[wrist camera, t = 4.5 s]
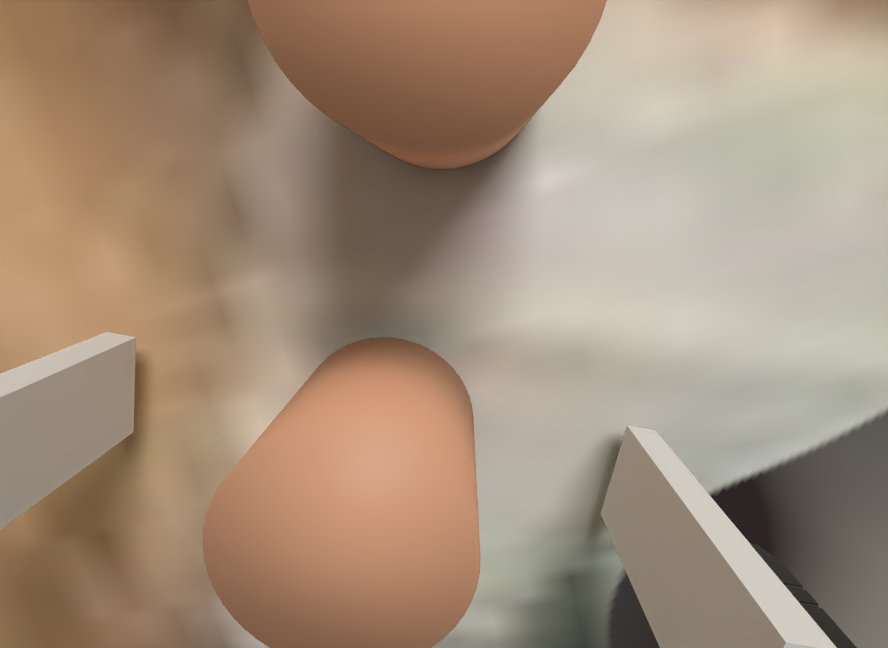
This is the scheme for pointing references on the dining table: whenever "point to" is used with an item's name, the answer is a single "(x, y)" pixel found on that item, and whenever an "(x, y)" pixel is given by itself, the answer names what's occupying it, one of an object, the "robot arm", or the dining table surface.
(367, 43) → the terracotta bead
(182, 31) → the dining table surface
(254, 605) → the terracotta bead
